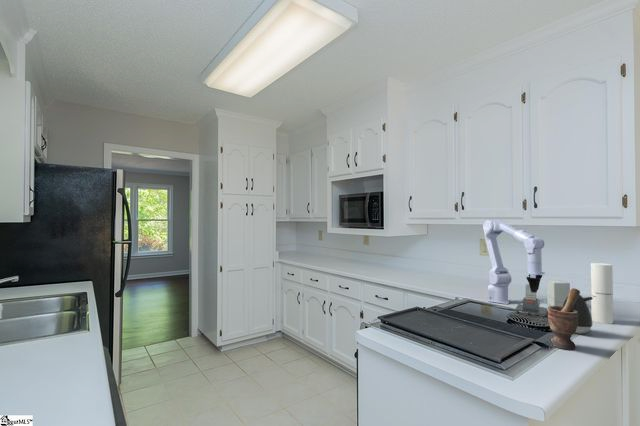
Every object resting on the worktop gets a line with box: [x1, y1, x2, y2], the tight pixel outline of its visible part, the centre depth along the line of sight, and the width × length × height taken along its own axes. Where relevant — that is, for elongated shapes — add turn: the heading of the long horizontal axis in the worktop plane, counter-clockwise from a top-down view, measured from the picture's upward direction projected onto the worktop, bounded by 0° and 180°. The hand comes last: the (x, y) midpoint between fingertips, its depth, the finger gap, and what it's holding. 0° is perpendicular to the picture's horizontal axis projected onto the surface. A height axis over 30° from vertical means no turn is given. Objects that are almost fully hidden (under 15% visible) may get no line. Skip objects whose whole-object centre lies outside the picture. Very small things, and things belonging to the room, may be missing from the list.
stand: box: [514, 296, 548, 317], centre depth 157 cm, size 12×12×6 cm
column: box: [525, 283, 538, 301], centre depth 157 cm, size 4×4×8 cm
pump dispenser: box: [562, 294, 593, 335], centre depth 130 cm, size 10×10×15 cm
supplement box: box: [546, 279, 571, 307], centre depth 167 cm, size 7×7×13 cm
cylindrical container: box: [590, 262, 614, 325], centre depth 143 cm, size 7×7×25 cm
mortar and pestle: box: [547, 287, 581, 351], centre depth 117 cm, size 12×9×20 cm
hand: (534, 291), depth 156 cm, fingers open, 7 cm apart
